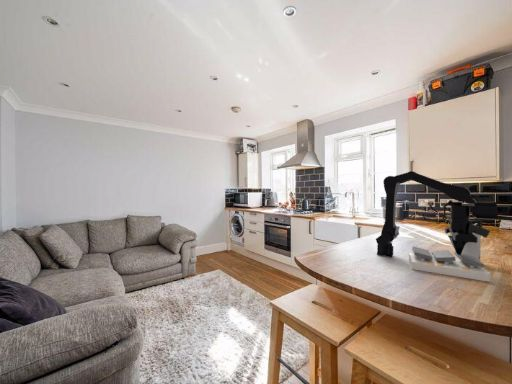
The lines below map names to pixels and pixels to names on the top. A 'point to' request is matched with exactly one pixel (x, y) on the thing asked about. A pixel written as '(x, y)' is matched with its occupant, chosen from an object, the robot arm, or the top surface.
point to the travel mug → (471, 247)
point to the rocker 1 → (422, 253)
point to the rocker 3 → (469, 259)
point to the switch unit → (449, 268)
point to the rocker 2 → (443, 255)
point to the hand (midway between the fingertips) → (458, 254)
